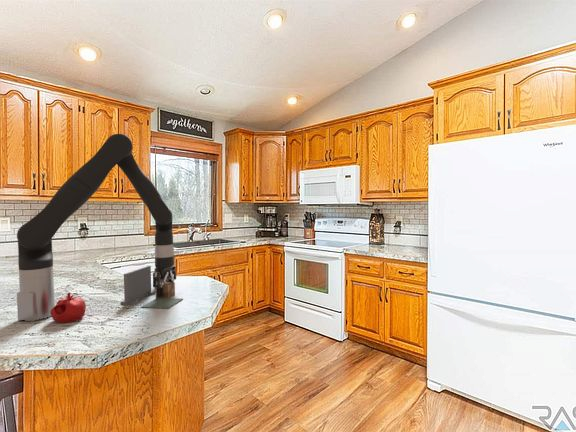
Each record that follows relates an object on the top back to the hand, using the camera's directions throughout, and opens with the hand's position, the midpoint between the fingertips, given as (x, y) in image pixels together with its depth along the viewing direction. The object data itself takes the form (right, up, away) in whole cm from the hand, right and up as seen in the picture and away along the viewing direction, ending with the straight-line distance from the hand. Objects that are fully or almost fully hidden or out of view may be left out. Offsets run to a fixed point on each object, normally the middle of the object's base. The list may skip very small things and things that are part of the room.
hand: (165, 293), depth 130 cm
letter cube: (0, -1, 0) cm, 1 cm away
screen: (-10, -1, -3) cm, 10 cm away
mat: (+3, -2, -9) cm, 10 cm away
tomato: (-23, -3, -25) cm, 34 cm away
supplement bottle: (-8, -1, +16) cm, 18 cm away
